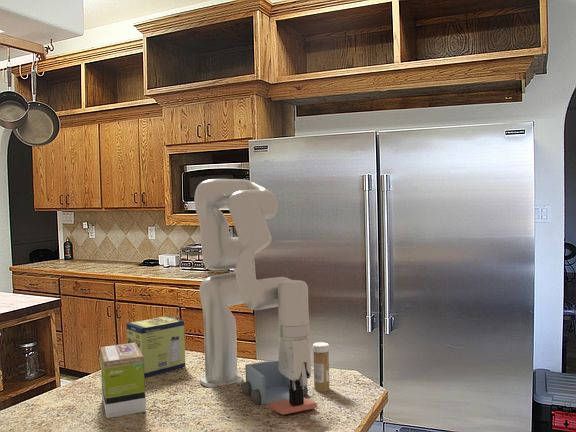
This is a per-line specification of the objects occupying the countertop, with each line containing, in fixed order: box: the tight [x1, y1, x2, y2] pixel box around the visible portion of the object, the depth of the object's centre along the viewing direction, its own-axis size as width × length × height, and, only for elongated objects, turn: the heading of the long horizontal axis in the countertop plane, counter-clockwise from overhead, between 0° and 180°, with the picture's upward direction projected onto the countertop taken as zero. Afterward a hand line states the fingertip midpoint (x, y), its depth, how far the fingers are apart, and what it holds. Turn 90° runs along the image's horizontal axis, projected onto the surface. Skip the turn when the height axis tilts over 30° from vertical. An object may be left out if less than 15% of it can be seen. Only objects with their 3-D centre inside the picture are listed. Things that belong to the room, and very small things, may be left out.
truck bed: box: [241, 359, 309, 406], centre depth 144 cm, size 12×15×8 cm
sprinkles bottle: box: [312, 341, 330, 393], centre depth 147 cm, size 5×5×13 cm
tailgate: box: [267, 397, 318, 415], centre depth 134 cm, size 1×9×9 cm
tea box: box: [99, 342, 147, 419], centre depth 140 cm, size 15×10×15 cm
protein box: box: [125, 315, 186, 379], centre depth 170 cm, size 10×16×16 cm
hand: (296, 404), depth 131 cm, fingers closed
